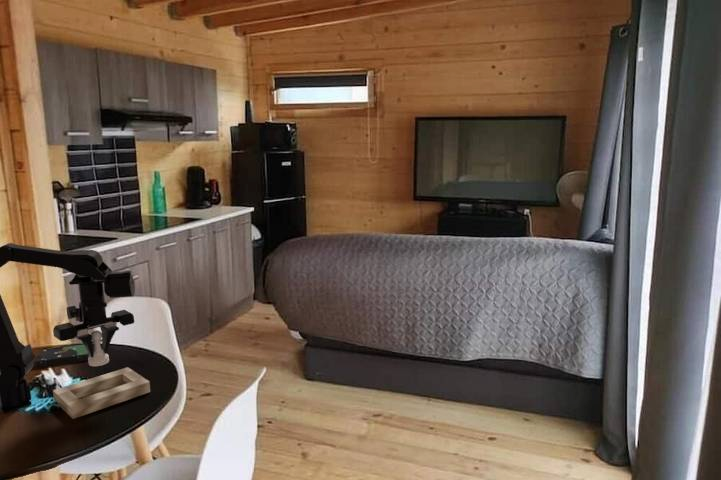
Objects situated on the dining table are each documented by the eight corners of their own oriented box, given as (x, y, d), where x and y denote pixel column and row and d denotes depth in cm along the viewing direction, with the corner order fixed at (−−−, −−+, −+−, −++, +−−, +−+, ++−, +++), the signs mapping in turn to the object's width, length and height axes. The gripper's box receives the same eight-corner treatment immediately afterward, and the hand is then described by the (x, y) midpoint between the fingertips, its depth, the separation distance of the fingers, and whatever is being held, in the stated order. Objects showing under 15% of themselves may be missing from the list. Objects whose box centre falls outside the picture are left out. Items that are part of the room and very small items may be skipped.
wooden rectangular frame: (72, 419, 136) (71, 408, 135) (54, 400, 146) (52, 390, 145) (150, 391, 150) (149, 381, 149) (128, 376, 160) (127, 367, 159)
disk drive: (35, 370, 166) (89, 361, 172) (34, 361, 166) (88, 353, 171) (40, 357, 176) (91, 349, 181) (39, 349, 175) (90, 341, 181)
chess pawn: (110, 358, 149) (107, 326, 147) (107, 365, 144) (104, 333, 143) (90, 360, 148) (87, 328, 146) (86, 367, 143) (83, 335, 141)
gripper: (115, 286, 155) (120, 338, 158) (42, 300, 142) (49, 357, 144) (132, 293, 147) (137, 348, 150) (57, 309, 134) (64, 369, 137)
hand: (98, 355), depth 146 cm, fingers closed on chess pawn, 3 cm apart
